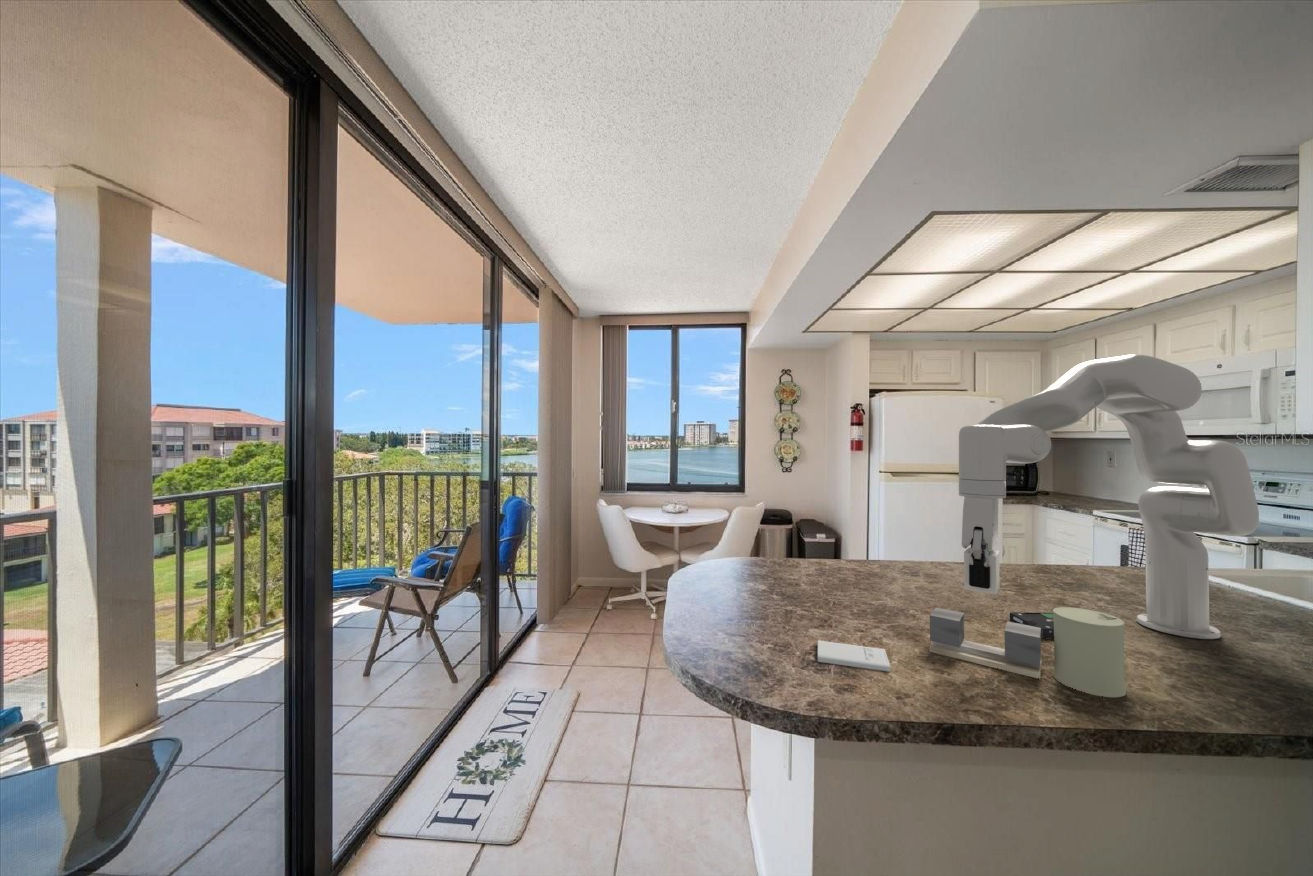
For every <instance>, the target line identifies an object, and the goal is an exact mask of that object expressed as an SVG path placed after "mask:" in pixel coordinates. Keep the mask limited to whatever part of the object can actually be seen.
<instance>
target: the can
mask: <svg viewBox="0 0 1313 876" xmlns="http://www.w3.org/2000/svg"><path fill="white" fill-rule="evenodd" d="M1052 613H1053V615H1054V639H1053V640H1054V642H1053V644H1054V645H1053V647H1054V648H1053V649H1054V650H1053V654H1054V656H1053V657H1054V660H1053V661H1054V663H1053V678H1054V679H1055V680H1056V681H1057V682H1059V683H1060V682H1061V683H1060V684H1062V685H1064V686H1066V687H1067V688H1070V687H1071V688H1070V689H1072V688H1073V689H1072V690H1075V689H1076V690H1075V691H1078V692H1081V691H1082V692H1081V693H1084V692H1085V693H1084V694H1088V695H1093V696H1097V697H1102V696H1103V698H1115V699H1116V698H1122V697H1125V696H1126V694H1127V690H1126V684H1125V683H1126V682H1125V626H1126V623H1125V621H1124V620H1122V619H1121V618H1119V617H1117V616H1116V615H1115V616H1114V615H1112V614H1109V613H1105V612H1102V611H1097V610H1093V609H1088V608H1082V607H1081V608H1080V607H1072V606H1071V607H1069V606H1062V607H1061V606H1060V607H1055V608H1053V609H1052Z"/></svg>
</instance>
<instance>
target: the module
mask: <svg viewBox="0 0 1313 876" xmlns="http://www.w3.org/2000/svg"><path fill="white" fill-rule="evenodd" d="M970 549H971V547H967V548H966V550H964V552H963V590H967V591H973V592H979V593H985V594H991V595H995V596H996V595H997V594H998V591H999V589H1000V550H994V549H993V550H991V551H989V558H988V567H990V588H989V589H986V588H980V587H974V586H970V585H969V564H970V551H971V550H970ZM983 554H984V555H985V553H983Z"/></svg>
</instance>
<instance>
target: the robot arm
mask: <svg viewBox="0 0 1313 876" xmlns="http://www.w3.org/2000/svg"><path fill="white" fill-rule="evenodd" d="M1202 390H1203V389H1202V383H1201V381H1200V379H1199V377H1198V376H1197V375H1196V374H1195V373H1194V372H1193V371H1191V370H1190V369H1189V368H1186V367H1183V366H1180V365H1178V364H1175V363H1173V362H1169V361H1167V360H1164V359H1161V358H1158V357H1154V356H1150V355H1144V354H1126V355H1121V356H1112V357H1107V358H1099V359H1092V360H1088V361H1085V362H1082V363H1079V364H1077V365H1075V366H1073V367H1072V368H1071V369H1069V370H1068V371H1067V372H1066V373H1064V374H1063V375H1062V376H1060V377H1059V378H1058V379H1056V381H1055V380H1054V382H1052V384H1050V385H1049V386H1048V387H1046V388H1045V389H1044V390H1042V391H1040V392H1039V393H1036V394H1034V395H1031V396H1029V397H1026V398H1024V399H1021V400H1019V401H1018V402H1014V403H1012V404H1010V405H1008V406H1005V407H1003V408H1000V409H998V410H996V411H995V412H993V413H990V414H989V415H987V416H986V417H984V418H983V419H982V420H980V422H978V423H977V424H972V425H965V426H964V425H963V426H962V427H961V428H960V430H959V432H958V496H960V497H964V498H963V506H962V521H961V523H962V525H961V547H962V548H964V549H968V548H969V547H970V548H971V549H970V550H971V551H970V564H969V585H970V586H974V587H980V588H986V589H989V588H990V567H988V558H989V551H991V550H993V551H994V549H995V547H996V546H997V542H998V533H999V499H1006V498H1007V464H1033V463H1037V462H1040V461H1041V460H1043V459H1044V458H1046V457H1047V456H1048V455H1049V453H1050V452H1051V448H1052V441H1051V437H1050V435H1049V433H1047V432H1051V431H1055V430H1059V429H1063V428H1067V427H1069V426H1072V425H1074V424H1077V423H1078V422H1079V421H1081V420H1082V419H1083V418H1084V417H1085V416H1086V415H1088V414H1089V413H1090V412H1092V411H1093V410H1094V409H1095V408H1096V407H1097V408H1098V409H1100V410H1101V411H1103V412H1106V413H1109V414H1110V415H1113V416H1114V417H1115V418H1117V419H1118V420H1120V421H1121V422H1122V424H1123V425H1124V426H1125V429H1127V433H1128V435H1129V436H1128V437H1129V439H1130V444H1131V448H1132V451H1133V455H1134V458H1135V459H1134V460H1135V463H1136V467H1137V468H1138V469H1137V470H1138V473H1139V474H1140V476H1141V477H1142V478H1143V479H1144V480H1146V481H1149V482H1152V483H1158V484H1169V485H1161V486H1153V487H1150V488H1148V489H1146V490H1144V491H1143V492H1142V493H1141V494H1140V495H1139V498H1138V500H1137V501H1138V512H1139V515H1140V519H1141V523H1142V527H1143V532H1144V533H1143V535H1144V546H1145V548H1144V549H1145V552H1144V553H1145V555H1144V556H1145V559H1144V560H1145V607H1146V608H1145V610H1146V613H1141V614H1137V615H1136V621H1137V623H1139V624H1140V625H1142V626H1143V627H1145V628H1146V627H1147V628H1149V629H1150V630H1154V631H1158V632H1162V633H1165V634H1169V635H1173V636H1179V637H1184V638H1190V639H1198V640H1199V639H1200V640H1216V639H1220V638H1221V637H1222V635H1221V630H1219V629H1218V628H1216V627H1215V626H1213V625H1210V587H1209V586H1210V585H1209V583H1210V581H1209V553H1208V550H1207V548H1206V546H1205V545H1204V543H1203V542H1202V540H1201V539H1200V538H1199V536H1197V534H1195V533H1202V534H1210V535H1217V536H1218V535H1219V536H1224V537H1225V536H1227V537H1244V536H1248V535H1251V534H1252V533H1254V532H1255V531H1256V529H1257V528H1258V525H1259V521H1260V512H1259V506H1258V502H1257V498H1256V493H1255V490H1254V489H1255V488H1254V485H1253V480H1252V476H1251V473H1250V472H1251V471H1250V468H1249V464H1248V461H1247V458H1246V456H1245V454H1244V453H1243V451H1242V450H1241V449H1240V448H1239V447H1237V446H1236V445H1235V444H1234V443H1230V442H1228V441H1226V440H1218V439H1217V440H1216V439H1215V440H1213V439H1211V440H1208V439H1207V440H1206V439H1204V440H1201V439H1197V440H1195V439H1194V440H1193V439H1190V438H1189V437H1188V436H1187V434H1186V431H1185V428H1184V424H1183V421H1182V418H1181V416H1180V415H1179V414H1178V413H1177V412H1179V411H1184V410H1187V409H1190V408H1191V407H1193V406H1194V405H1196V404H1197V403H1198V401H1200V398H1201V397H1202V394H1203V392H1202ZM1174 485H1176V486H1174ZM1177 485H1186V486H1177ZM1191 486H1193V487H1191ZM1194 486H1202V487H1203V488H1202V487H1201V488H1199V487H1194ZM1204 487H1205V488H1204ZM983 553H985V555H984V554H983Z"/></svg>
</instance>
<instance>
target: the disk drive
mask: <svg viewBox="0 0 1313 876" xmlns="http://www.w3.org/2000/svg"><path fill="white" fill-rule="evenodd" d="M1009 622H1013V623H1018V624H1024V625H1029V626H1034V627H1039V628H1041V639H1042V638H1053V639H1052V640H1054V615H1053V612H1022V611H1012V612H1011V611H1010V612H1009Z"/></svg>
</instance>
